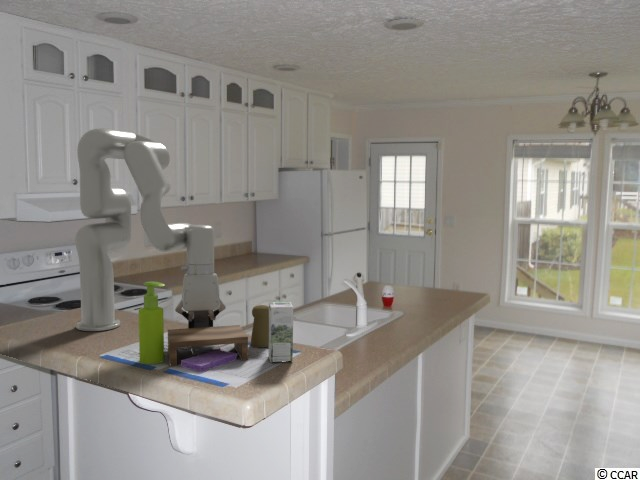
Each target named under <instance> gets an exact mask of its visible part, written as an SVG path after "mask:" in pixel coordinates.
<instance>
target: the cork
mask: <svg viewBox="0 0 640 480" xmlns="http://www.w3.org/2000/svg"><path fill="white" fill-rule="evenodd" d="M251 314H252V317H253V322H252V330H251V331H252V332H251V338H250V347H252V348H254V347H267V348H269V305H262V304H258V305H255V306H253V308H251Z"/></svg>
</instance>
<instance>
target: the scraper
mask: <svg viewBox="0 0 640 480" xmlns="http://www.w3.org/2000/svg"><path fill="white" fill-rule="evenodd" d="M193 321H194V328H202V327H209V311H194V313H193ZM189 348H190V350H191V353H192V356H198V355H201V354H205V353H207V352H210V351H213V350H216V349H218V350H222V348H221V347H220V345H209V346H196V347H189Z"/></svg>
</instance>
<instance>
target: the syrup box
mask: <svg viewBox="0 0 640 480" xmlns="http://www.w3.org/2000/svg"><path fill="white" fill-rule="evenodd" d="M268 307H269V347H268V358H269V362H270V364H273V363H272V362H282V361H294V360H293V359H294V358H293V356H294V355H293V354H294V352H293V351H294V348H293V347H294V306H293V304H292V302H291V301H285V302H284V301H283V302H282V301H277V302H275V301H274V302H269V303H268Z"/></svg>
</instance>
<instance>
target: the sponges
mask: <svg viewBox="0 0 640 480" xmlns="http://www.w3.org/2000/svg"><path fill="white" fill-rule="evenodd" d="M237 357H238V352H237V353H236V352H232V351H225V350H223V349H221V350H218V349H216V350H213V351H210V352H207V353H205V354H201V355H193V356H192V357H188V358H185V359H181V360H180V361H181V362H180V363H181V364H180V365H181V367H182V368H186V369H188V370H192V371H195V372H200V373H202V372H205V371H208V370H210V369H214V368H217V367H221V366H222V365H225V364H227V363H230V362H234V361H236V360H237Z"/></svg>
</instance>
